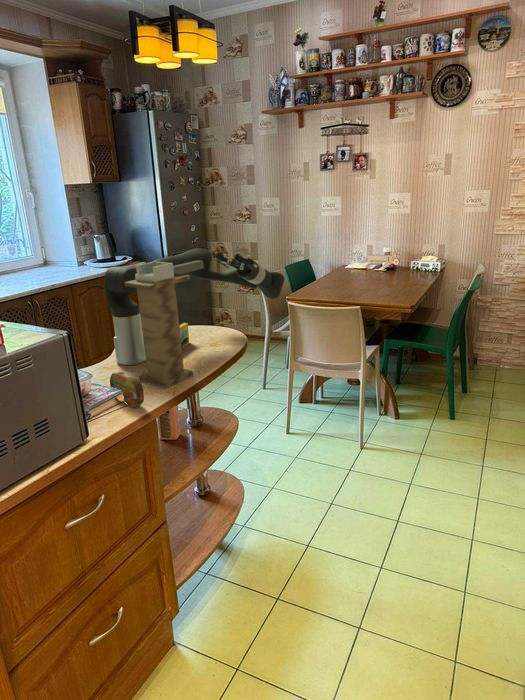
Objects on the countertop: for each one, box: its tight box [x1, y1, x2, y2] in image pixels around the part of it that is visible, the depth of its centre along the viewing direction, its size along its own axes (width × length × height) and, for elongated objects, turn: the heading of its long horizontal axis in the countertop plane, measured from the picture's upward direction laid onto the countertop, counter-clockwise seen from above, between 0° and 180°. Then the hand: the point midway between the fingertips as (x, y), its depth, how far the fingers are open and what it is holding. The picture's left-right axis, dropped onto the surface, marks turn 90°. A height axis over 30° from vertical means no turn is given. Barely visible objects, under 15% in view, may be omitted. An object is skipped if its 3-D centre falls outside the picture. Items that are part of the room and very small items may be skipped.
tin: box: [109, 371, 145, 409], centre depth 141 cm, size 15×3×8 cm, turn 45°
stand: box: [125, 274, 194, 389], centre depth 153 cm, size 16×12×32 cm
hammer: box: [135, 260, 204, 283], centre depth 152 cm, size 24×8×4 cm, turn 144°
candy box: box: [179, 322, 190, 349], centre depth 183 cm, size 16×2×8 cm, turn 161°
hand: (225, 255), depth 169 cm, fingers open, 8 cm apart
